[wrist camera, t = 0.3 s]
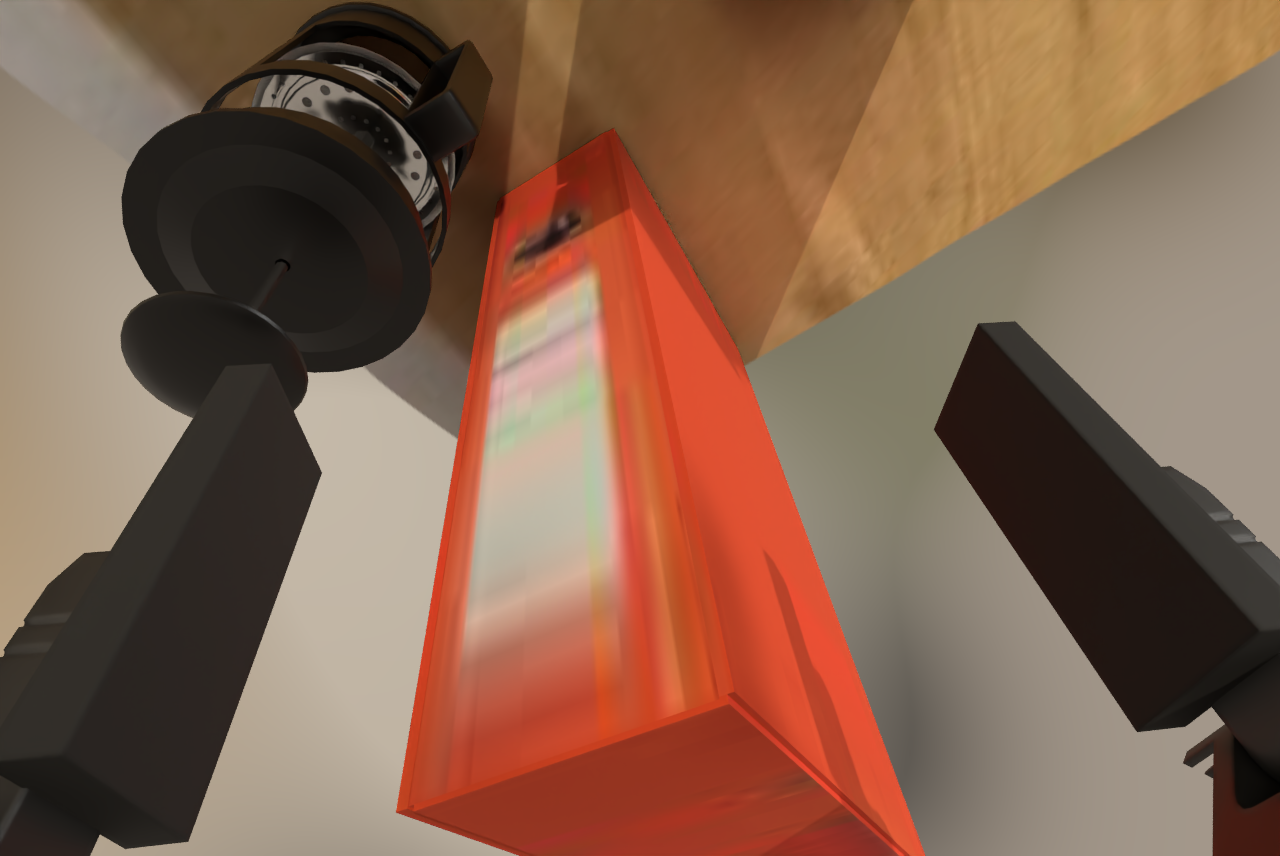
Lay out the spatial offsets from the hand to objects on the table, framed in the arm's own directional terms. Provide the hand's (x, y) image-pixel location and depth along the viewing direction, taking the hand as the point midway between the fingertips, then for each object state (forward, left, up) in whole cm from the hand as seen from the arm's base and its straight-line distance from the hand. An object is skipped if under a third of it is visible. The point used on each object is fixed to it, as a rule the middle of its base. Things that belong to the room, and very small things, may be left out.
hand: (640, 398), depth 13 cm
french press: (+2, -10, -28) cm, 29 cm away
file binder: (+13, +2, -28) cm, 30 cm away
